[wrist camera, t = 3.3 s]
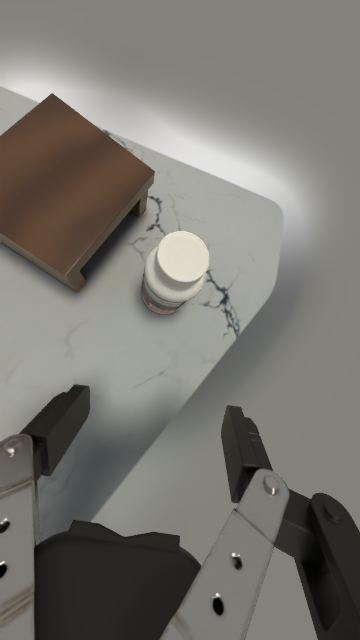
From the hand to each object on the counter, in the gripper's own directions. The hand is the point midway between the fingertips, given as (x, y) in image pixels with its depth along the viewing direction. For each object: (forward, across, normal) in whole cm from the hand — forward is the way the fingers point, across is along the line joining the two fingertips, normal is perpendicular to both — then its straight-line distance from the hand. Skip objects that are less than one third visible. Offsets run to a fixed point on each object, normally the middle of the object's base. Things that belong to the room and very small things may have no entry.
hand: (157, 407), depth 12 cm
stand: (+15, -12, +10) cm, 22 cm away
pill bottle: (+15, -2, +4) cm, 15 cm away
